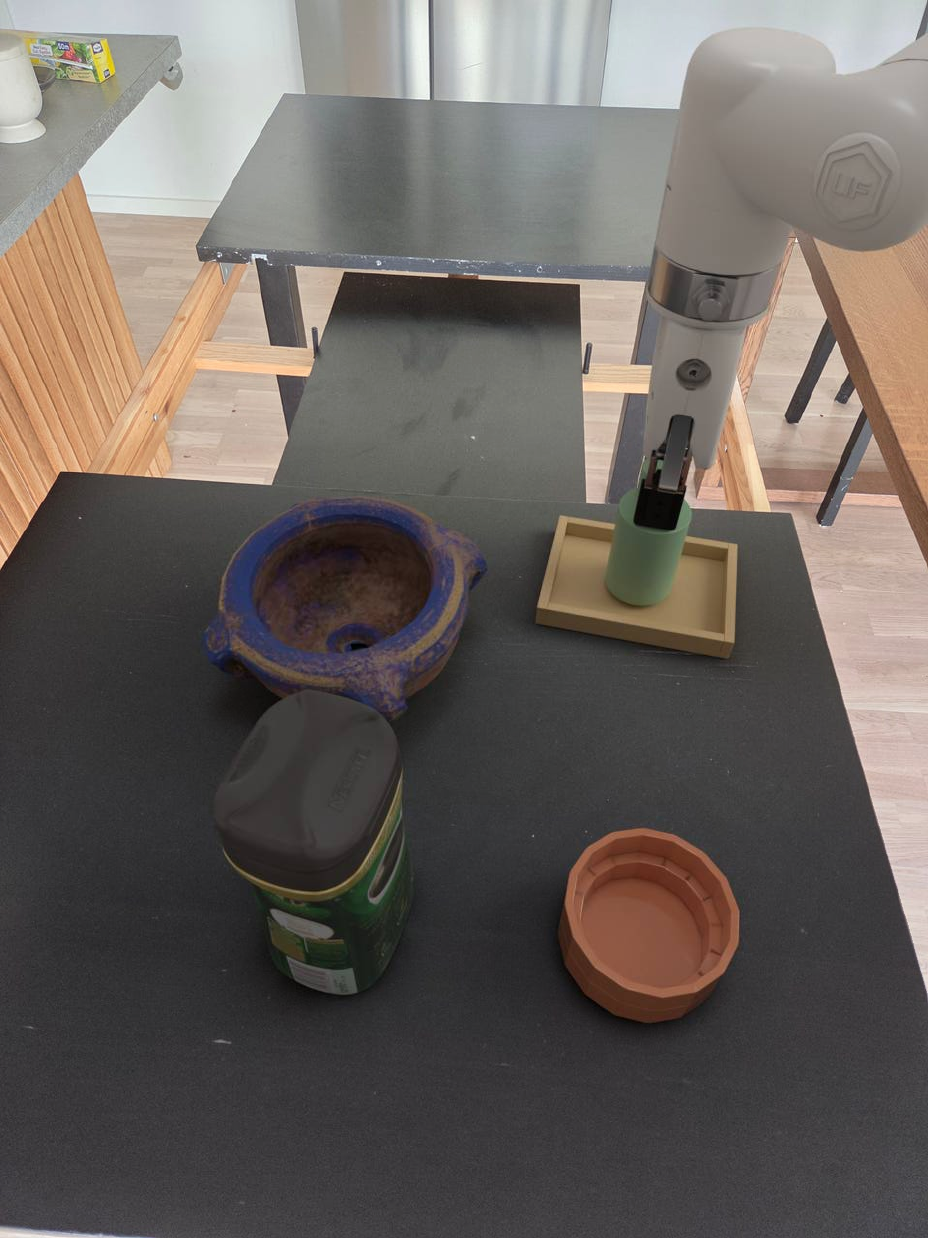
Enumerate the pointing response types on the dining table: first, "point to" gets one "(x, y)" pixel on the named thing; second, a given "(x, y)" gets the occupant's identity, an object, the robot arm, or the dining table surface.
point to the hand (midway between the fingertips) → (656, 505)
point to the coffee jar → (321, 838)
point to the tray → (680, 621)
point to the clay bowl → (647, 924)
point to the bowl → (345, 601)
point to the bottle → (644, 552)
